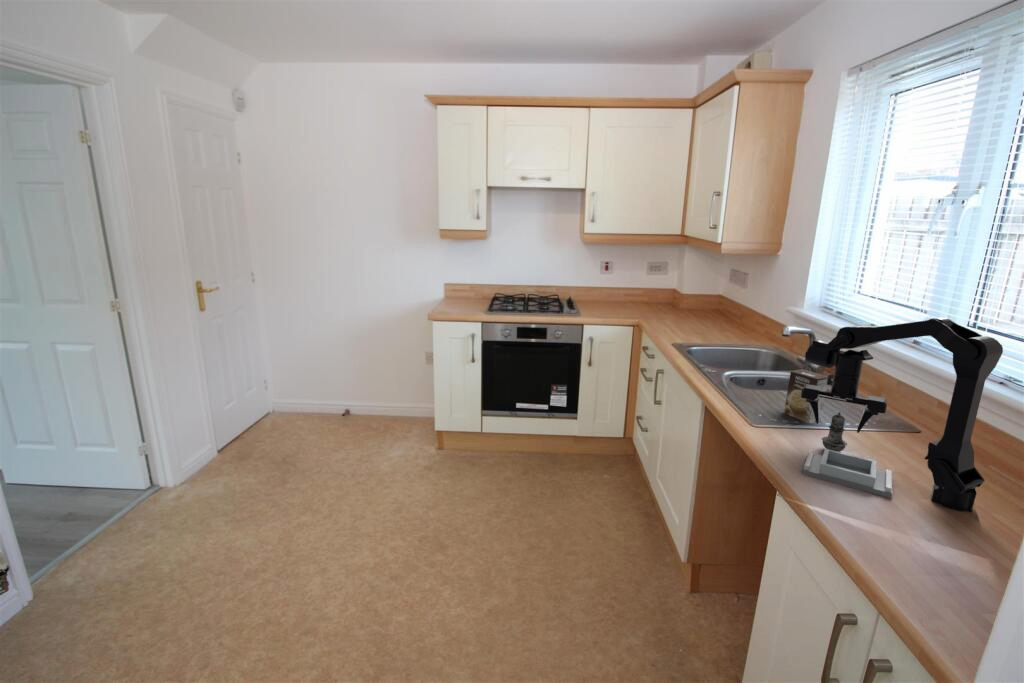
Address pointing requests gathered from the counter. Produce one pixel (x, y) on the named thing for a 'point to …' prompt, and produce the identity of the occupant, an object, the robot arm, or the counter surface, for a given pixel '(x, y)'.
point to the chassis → (849, 472)
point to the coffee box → (794, 401)
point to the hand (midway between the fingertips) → (837, 427)
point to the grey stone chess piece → (835, 434)
